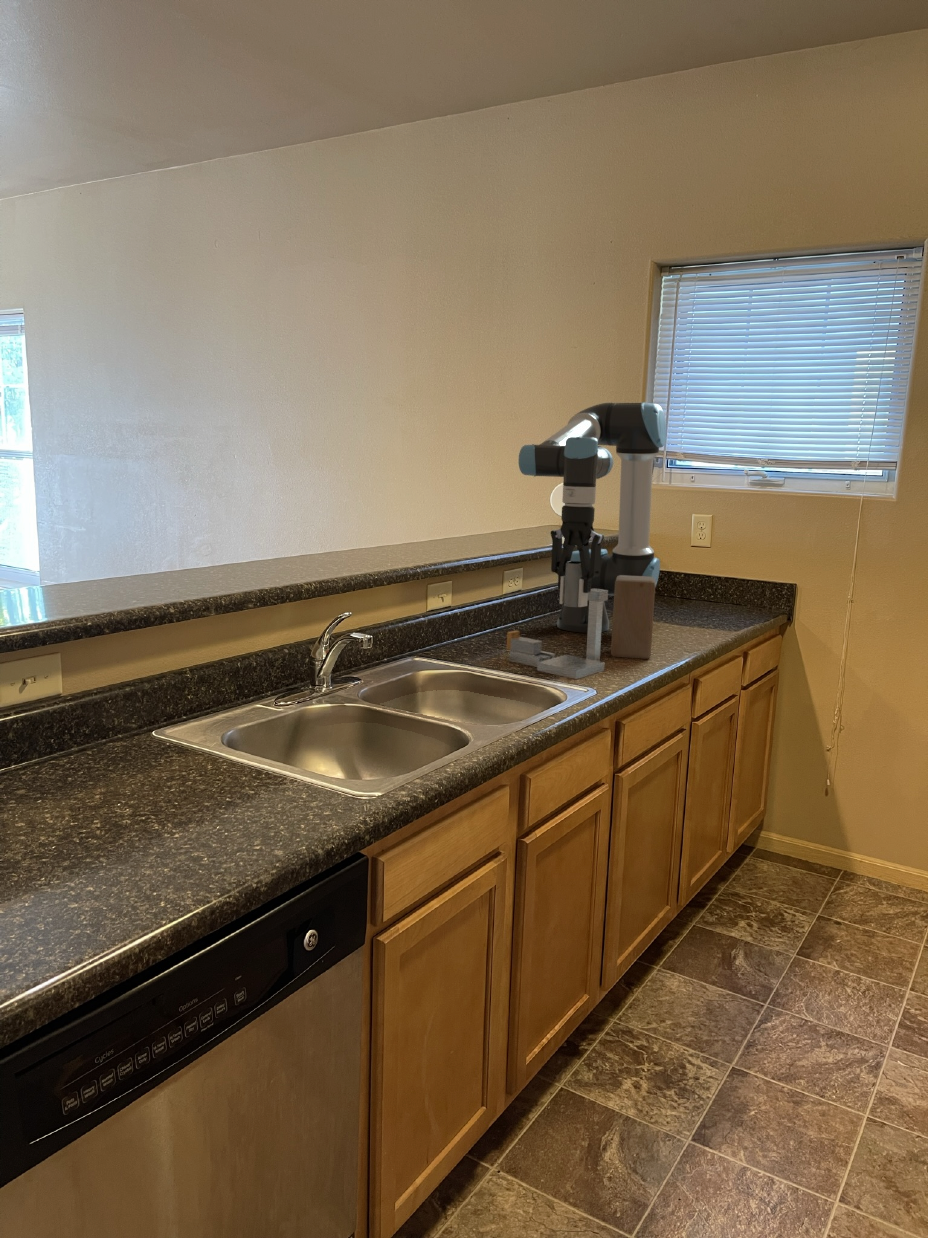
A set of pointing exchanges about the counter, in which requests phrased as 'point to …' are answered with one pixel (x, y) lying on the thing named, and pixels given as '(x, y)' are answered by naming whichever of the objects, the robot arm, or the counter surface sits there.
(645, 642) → the wooden block
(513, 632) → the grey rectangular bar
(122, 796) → the counter surface
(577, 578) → the grey hollow tube
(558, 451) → the robot arm
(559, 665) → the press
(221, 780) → the counter surface
